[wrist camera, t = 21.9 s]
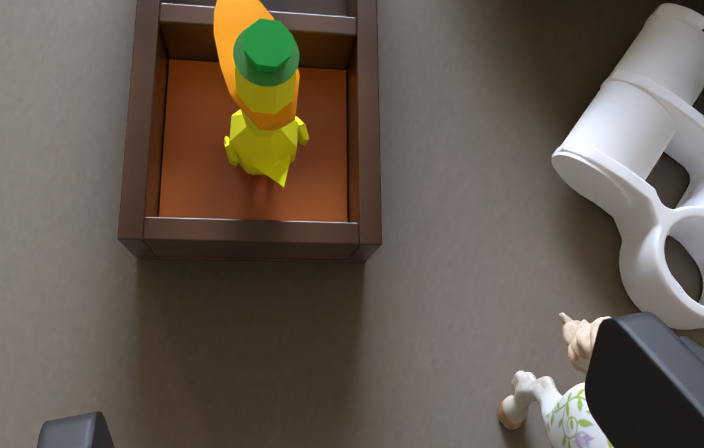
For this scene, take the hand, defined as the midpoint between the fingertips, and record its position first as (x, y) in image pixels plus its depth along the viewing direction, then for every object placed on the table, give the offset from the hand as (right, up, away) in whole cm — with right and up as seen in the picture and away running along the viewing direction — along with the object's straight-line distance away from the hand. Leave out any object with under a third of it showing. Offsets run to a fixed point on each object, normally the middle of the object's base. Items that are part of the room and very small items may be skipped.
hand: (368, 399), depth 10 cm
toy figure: (-5, +6, +21) cm, 23 cm away
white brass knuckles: (+19, +6, +25) cm, 32 cm away
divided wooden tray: (-5, +11, +23) cm, 26 cm away
